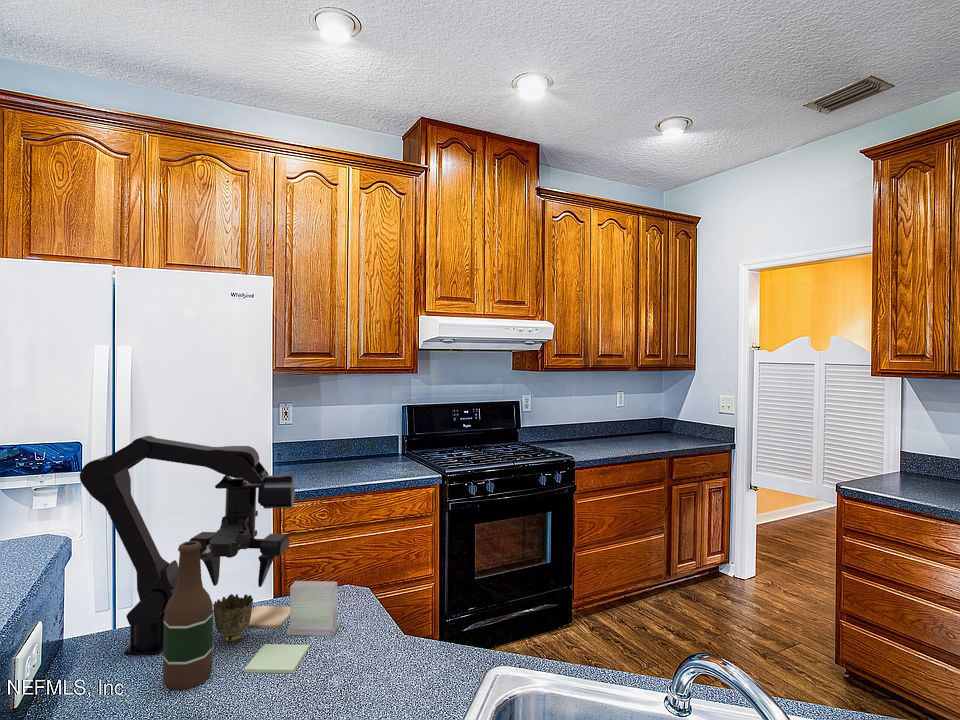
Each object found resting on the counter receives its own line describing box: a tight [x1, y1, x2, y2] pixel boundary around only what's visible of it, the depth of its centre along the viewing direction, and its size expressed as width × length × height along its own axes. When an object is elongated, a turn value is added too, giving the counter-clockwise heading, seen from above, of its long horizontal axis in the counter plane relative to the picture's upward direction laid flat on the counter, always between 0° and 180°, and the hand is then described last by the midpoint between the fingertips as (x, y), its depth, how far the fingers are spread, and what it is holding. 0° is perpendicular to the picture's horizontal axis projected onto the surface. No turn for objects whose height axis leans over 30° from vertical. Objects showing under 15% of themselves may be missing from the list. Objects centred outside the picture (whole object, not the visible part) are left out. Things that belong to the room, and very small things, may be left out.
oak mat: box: [247, 605, 290, 629], centre depth 121 cm, size 9×9×1 cm
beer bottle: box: [162, 540, 214, 691], centre depth 98 cm, size 8×8×24 cm
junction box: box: [285, 580, 342, 637], centre depth 116 cm, size 10×5×10 cm, turn 89°
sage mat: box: [243, 643, 311, 674], centre depth 104 cm, size 9×9×1 cm
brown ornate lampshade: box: [212, 593, 254, 644], centre depth 111 cm, size 8×7×8 cm
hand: (238, 585), depth 112 cm, fingers open, 9 cm apart
